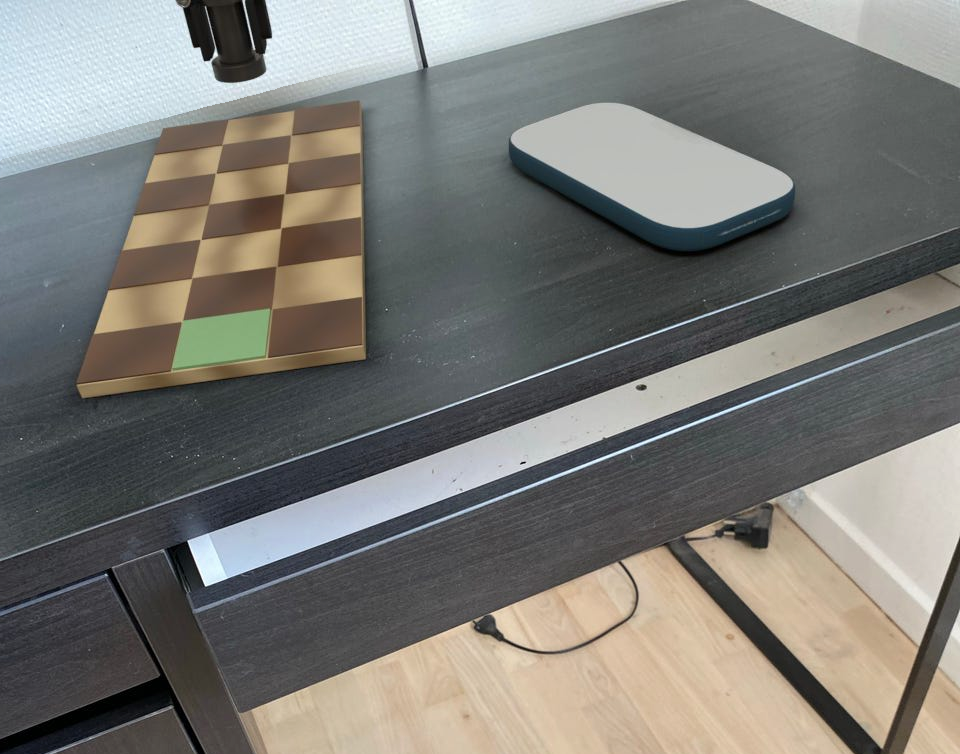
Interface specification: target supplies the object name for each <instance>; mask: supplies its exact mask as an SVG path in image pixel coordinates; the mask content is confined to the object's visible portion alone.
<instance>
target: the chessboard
mask: <svg viewBox="0 0 960 754" xmlns="http://www.w3.org/2000/svg"><path fill="white" fill-rule="evenodd" d="M363 134H364V133H363V109H362V103H361V101H360V100H358V99H357V100H352V101H344V102H338V103H331V104H324V105H316V106H309V107H302V108H295V109H294V110H290V111H284V112H276V113H269V114H262V115H255V116H249V117H241V118H234V119H228V118H226V119H225V118H223V119H219V120H218V119H217V120H211V121H210V120H209V121H204V122H203V121H202V122H196V123H190V124H183V125H175V126H170V127H163V128H162V130H161V134H160V136H159V139H158V143H157V145H156V147H155V151H154V156H153V159H152V162H151V165H150V168H149V170H148V173H147V176H146V179H145V182H144V183H143V186H142V189H141V192H140V194H139V198H138V199H137V200H138V201H137V203H136V206H135V210H134V212H133V218H132V221H131V224H130V225H129V229H128V232H127V235H126V238H125V241H124V244H123V247H122V250H121V251H120V252H119V257H118V259H117V262H116V265H115V268H114V271H113V274H112V277H111V280H110V283H109V286H108V289H107V294H106V297H105V300H104V303H103V305H102V308H101V311H100V315H99V317H98V320H97V324H96V327H95V330H94V332H93V334H92V336H91V339H90V342H89V344H88V347H87V350H86V352H85V353H86V354H85V356H84V359H83V362H82V364H81V368H80V371H79V373H78V377H77V380H76V384H75V385H76V388H77V390H78V392H79V394H80V396H81V398H82V399H88V398H95V397H103V396H109V395H110V396H111V395H117V394H125V393H131V392H139V391H140V392H141V391H144V390H145V391H146V390H153V389H161V388H168V387H177V386H183V385H190V384H191V385H192V384H197V383H205V382H211V381H218V380H227V379H232V378H240V377H248V376H256V375H262V374H270V373H277V372H284V371H290V370H297V369H305V368H313V367H314V368H315V367H321V366H327V365H328V366H329V365H334V364H341V363H342V364H343V363H348V362H355V361H364V360H367V330H366V329H367V328H366V327H367V326H366V325H367V321H366V271H365V270H366V268H365V267H366V265H365V264H366V263H365V261H366V259H365V256H366V255H365V207H364V205H365V203H364V201H365V200H364V198H365V197H364V195H365V193H364V142H363V140H364V135H363ZM264 309H270V310H271V314H270V323H269V332H268V341H267V350H266V358H262V359H255V360H248V361H240V362H233V363H226V364H219V365H211V366H204V367H197V368H190V369H183V370H175V371H173V369H172V367H173V363H174V358H175V354H176V350H177V345H178V341H179V336H180V332H181V328H182V323H183V321H184V320H192V319H199V318H206V317H213V316H220V315H228V314H235V313H242V312H249V311H256V310H264Z"/></svg>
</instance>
